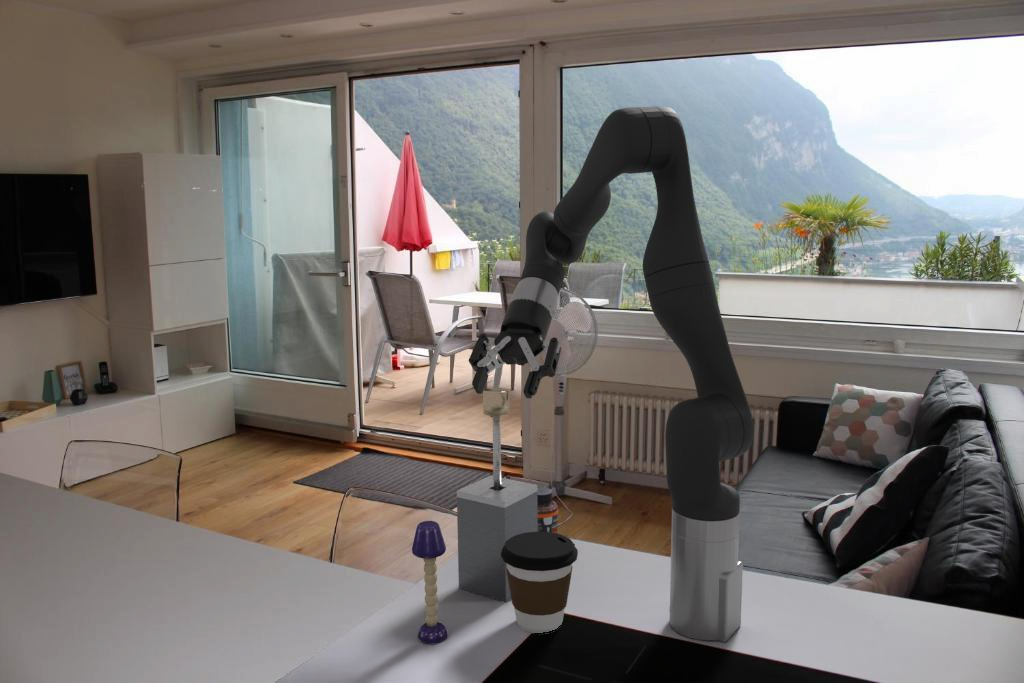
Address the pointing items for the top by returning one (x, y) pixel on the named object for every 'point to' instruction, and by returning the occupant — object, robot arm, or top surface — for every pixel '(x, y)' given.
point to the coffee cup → (539, 578)
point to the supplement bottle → (547, 511)
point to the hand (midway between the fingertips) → (501, 393)
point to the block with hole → (491, 532)
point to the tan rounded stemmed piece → (496, 425)
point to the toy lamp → (430, 578)
